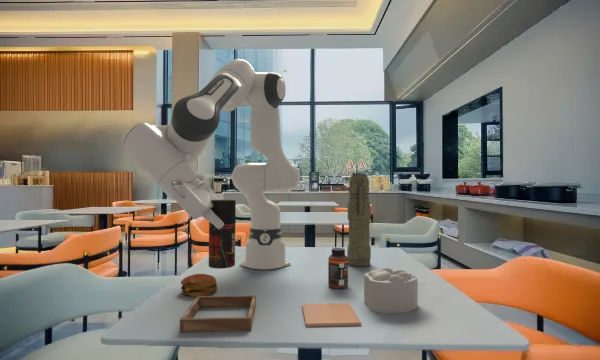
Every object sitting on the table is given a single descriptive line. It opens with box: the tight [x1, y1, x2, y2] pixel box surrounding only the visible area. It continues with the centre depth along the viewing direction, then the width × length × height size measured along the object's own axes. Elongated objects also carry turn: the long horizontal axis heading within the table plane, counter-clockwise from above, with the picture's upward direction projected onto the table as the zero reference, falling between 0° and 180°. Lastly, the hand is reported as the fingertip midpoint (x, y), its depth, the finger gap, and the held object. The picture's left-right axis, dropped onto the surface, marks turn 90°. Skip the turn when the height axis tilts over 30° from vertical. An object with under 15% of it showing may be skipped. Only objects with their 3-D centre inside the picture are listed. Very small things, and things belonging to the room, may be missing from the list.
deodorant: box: [208, 199, 237, 269], centre depth 76 cm, size 6×6×15 cm
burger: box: [180, 273, 218, 298], centre depth 94 cm, size 10×9×5 cm
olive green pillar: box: [346, 173, 372, 268], centre depth 128 cm, size 9×12×35 cm
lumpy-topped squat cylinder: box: [363, 266, 419, 314], centre depth 85 cm, size 10×13×9 cm
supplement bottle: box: [327, 247, 349, 290], centre depth 100 cm, size 6×6×11 cm
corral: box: [179, 294, 257, 333], centre depth 76 cm, size 15×15×2 cm
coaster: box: [302, 302, 362, 328], centre depth 78 cm, size 12×12×1 cm
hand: (225, 224), depth 76 cm, fingers closed on deodorant, 6 cm apart
